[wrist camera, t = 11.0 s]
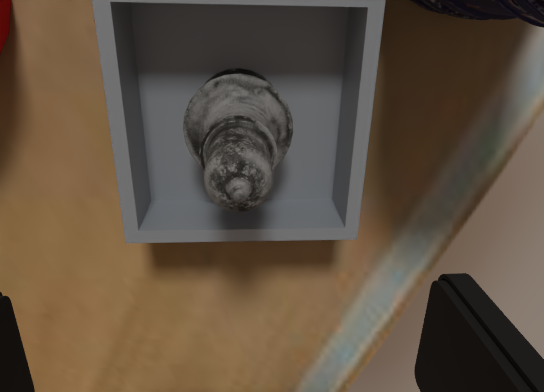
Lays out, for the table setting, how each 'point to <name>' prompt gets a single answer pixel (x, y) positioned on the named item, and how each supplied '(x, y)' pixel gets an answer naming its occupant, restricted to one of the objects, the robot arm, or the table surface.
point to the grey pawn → (238, 136)
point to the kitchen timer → (4, 21)
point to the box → (283, 76)
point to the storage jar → (488, 9)
